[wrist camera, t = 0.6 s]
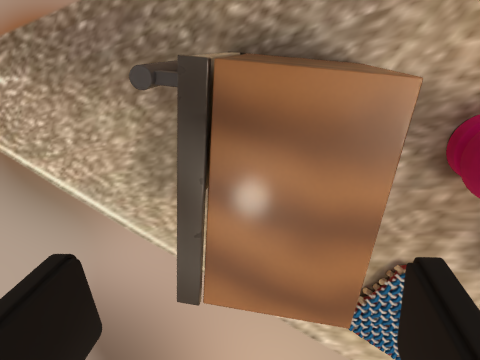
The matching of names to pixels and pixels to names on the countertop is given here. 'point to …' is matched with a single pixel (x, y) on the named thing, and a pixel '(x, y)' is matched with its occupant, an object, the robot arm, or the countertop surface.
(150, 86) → the sliding door
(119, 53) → the countertop surface
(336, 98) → the cabinet
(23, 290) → the robot arm
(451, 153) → the pepper mill
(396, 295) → the woven mat
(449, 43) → the countertop surface
